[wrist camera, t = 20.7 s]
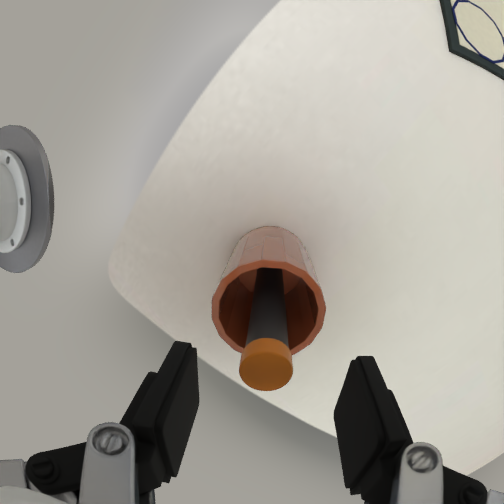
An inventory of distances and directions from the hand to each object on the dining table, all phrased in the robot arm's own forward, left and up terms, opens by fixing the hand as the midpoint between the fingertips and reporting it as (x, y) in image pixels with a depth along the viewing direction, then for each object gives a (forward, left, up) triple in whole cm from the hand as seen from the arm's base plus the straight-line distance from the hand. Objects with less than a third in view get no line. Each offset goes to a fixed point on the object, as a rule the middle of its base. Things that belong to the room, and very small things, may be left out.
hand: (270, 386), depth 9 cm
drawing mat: (+23, +29, -13) cm, 39 cm away
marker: (0, 0, -13) cm, 13 cm away
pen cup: (0, 0, -13) cm, 13 cm away
